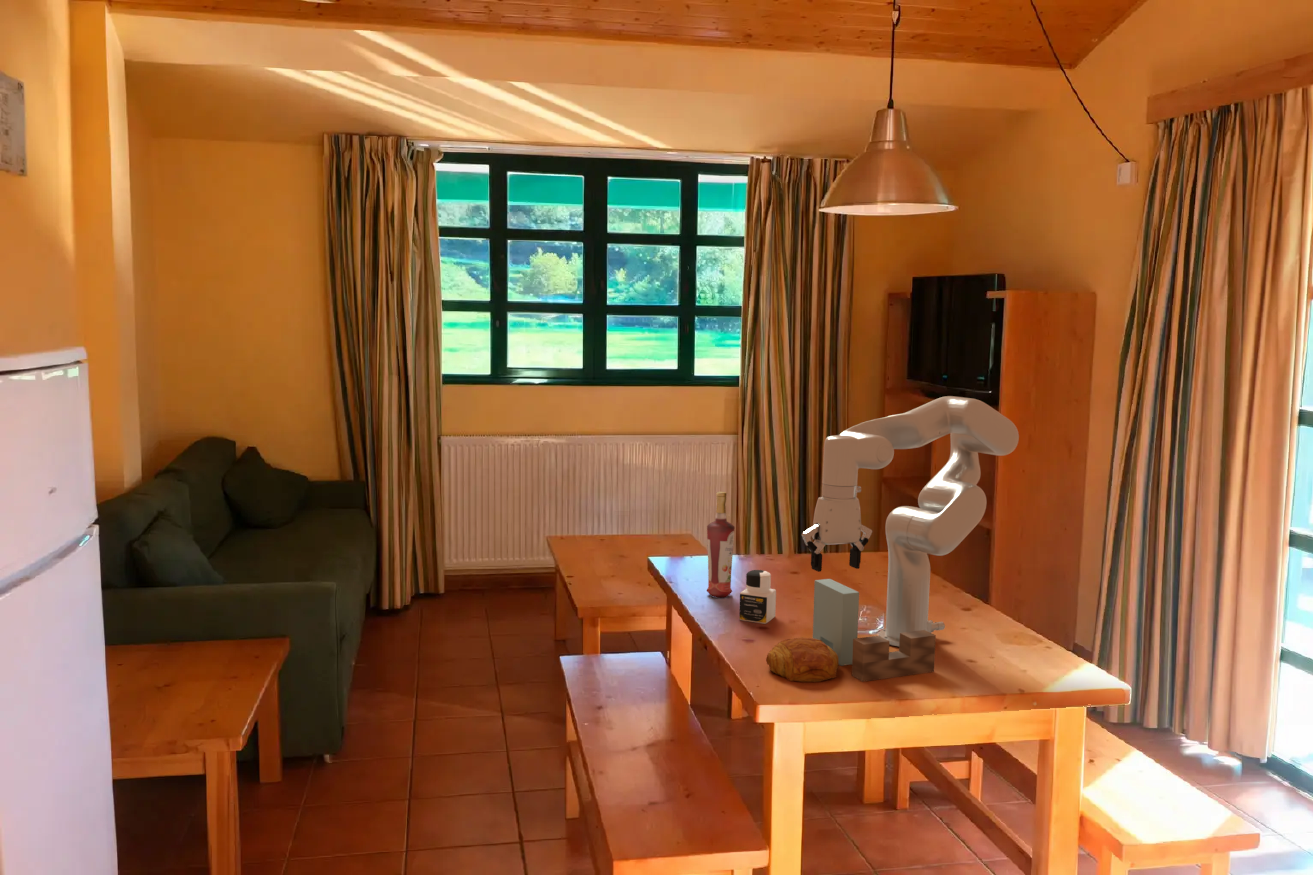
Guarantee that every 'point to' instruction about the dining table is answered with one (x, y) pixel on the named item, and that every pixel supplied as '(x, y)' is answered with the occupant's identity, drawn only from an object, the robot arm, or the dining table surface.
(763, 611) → the medicine bottle
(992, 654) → the dining table surface
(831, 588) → the plain rectangular block
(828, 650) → the croissant
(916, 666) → the mottled brown block
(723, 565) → the liquor
